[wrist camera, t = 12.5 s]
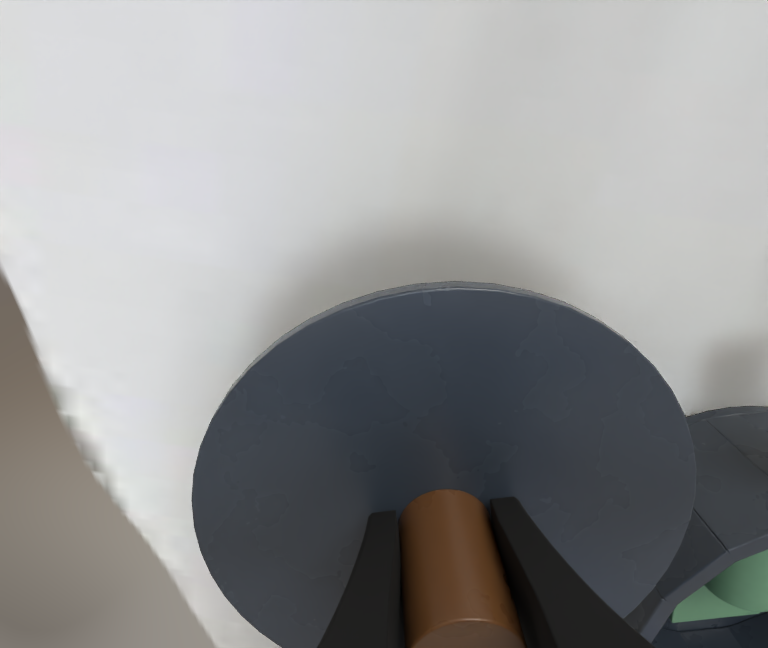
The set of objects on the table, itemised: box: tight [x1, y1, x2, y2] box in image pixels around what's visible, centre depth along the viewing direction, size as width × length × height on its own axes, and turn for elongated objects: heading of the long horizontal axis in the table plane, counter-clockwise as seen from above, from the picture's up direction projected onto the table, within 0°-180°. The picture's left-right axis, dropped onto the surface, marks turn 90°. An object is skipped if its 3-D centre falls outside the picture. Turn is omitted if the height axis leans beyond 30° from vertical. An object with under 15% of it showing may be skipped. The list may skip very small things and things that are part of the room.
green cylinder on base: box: [669, 550, 768, 623], centre depth 20 cm, size 8×4×3 cm, turn 7°
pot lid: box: [192, 281, 697, 648], centre depth 12 cm, size 13×13×5 cm
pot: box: [623, 406, 768, 648], centre depth 19 cm, size 12×18×6 cm
